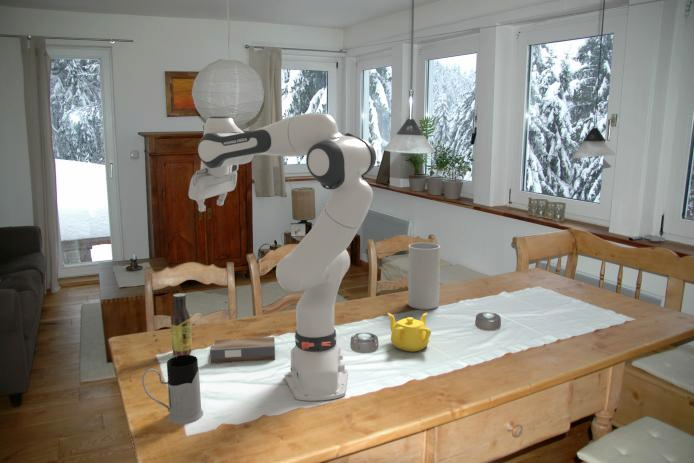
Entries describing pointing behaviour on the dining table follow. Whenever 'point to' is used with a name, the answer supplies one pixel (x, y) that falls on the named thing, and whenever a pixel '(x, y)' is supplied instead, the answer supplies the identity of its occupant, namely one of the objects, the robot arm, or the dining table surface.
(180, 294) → the sauce bottle
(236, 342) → the book
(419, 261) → the cylinder vase
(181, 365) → the grey mug
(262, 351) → the price rail
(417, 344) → the teapot
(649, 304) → the dining table surface
